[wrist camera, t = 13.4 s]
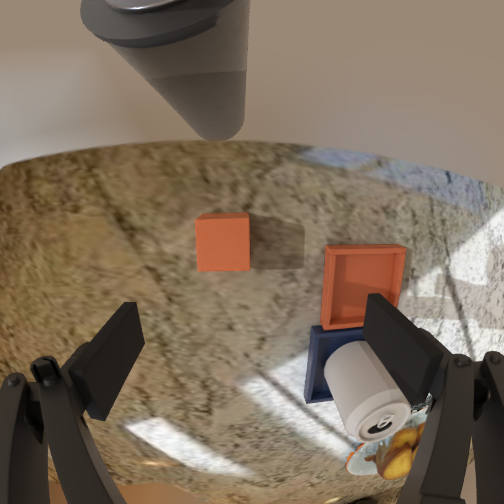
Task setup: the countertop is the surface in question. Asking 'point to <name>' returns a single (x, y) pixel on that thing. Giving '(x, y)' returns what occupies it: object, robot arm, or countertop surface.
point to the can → (365, 393)
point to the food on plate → (390, 451)
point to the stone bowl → (367, 501)
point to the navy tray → (325, 359)
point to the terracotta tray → (358, 281)
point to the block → (223, 242)
